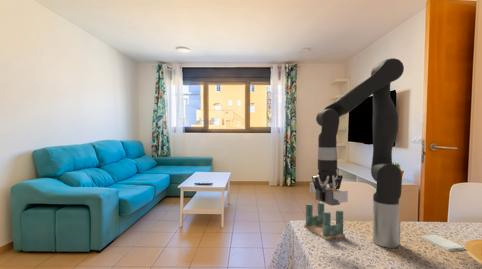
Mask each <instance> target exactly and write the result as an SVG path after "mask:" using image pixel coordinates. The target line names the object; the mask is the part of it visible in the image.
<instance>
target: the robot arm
mask: <svg viewBox="0 0 482 269" xmlns="http://www.w3.org/2000/svg"><path fill="white" fill-rule="evenodd" d="M404 68H405V67H404V64H403V62H402V61H401V60H400V59H397V58H387V59H385V60H382V61H380V62H378V63H376V64H375V65H374V66H373V67H372V68H371V72H370V76H369V77H368V78H366V79H365V80H364V81H362V82H360V83H359V84H357V85H355V86H354V87H352V88H350V89H349V90H348V91H346V92H345V93H343V94H342V95H341V96H340V97H338V98H336V100H335V101H334V102H332V103H330V104H328V105H327V106H326V107H324V108H323V109H321V110H320V111H319V112H318V113H317V114H316V117H315V120H316V123H317V124H318V126H320V127H321V131H320V133H319V135H318V140H317V141H318V145H317V146H318V148H317V169H318V173H317V175H313V176H311V179H312V183H313V184H314V187H315V190H318V191H319V198H320V200H321V201H323V202H322V203H324V201H325V189H326V187H330V188H334V189H336V190H340V189H341V185H342V181H343V175H342V174H338V173H337V170H338V149H337V146H338V145H337V144H338V143H337V142H338V141H337V135H338V133H339V132H338V131H339V127H340V117H342V116H344V115H346V114H349V113H350V112H351V111H353V110H354V109H355V108H356V107H358V106H359V105H361V104H362V103H363V102H364V101H365V100H366V99H368V98H369V97H371V96H372V145H373V146H372V149H373V150H372V159H371V166H370V167H371V169H370V175H371V177H372V178H373V180H374V181H375V182H376V191H375V192H374V193H373V196H372V202H373V203H372V204H373V205H372V208H373V209H372V213H373V214H372V215H373V216H372V242H373V243H374V244H376V245H377V246H379V247H384V248H389V249H396V248H398V247H399V246H400V245H401V221H400V198H401V196H402V186H403V175H402V171H401V169H400V168H399V167H398V166H397V165H395V164H393V157H392V155H393V147H394V145H395V141H396V138H397V136H398V131H399V114H398V111H397V110H398V109H396V106H395V103H394V102H393V100H392V97H391V84H392V82H395V81H396V80H399V79H400V78H401V77H402V76H403V74H404V70H405V69H404ZM321 201H320V202H321Z"/></svg>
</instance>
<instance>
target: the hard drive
mask: <svg viewBox="0 0 482 269" xmlns="http://www.w3.org/2000/svg"><path fill="white" fill-rule="evenodd" d="M420 239H421V240H424V241H425V242H428V243H430V244H432V245H433V246H436V247H439V248H440V249H443V250H445V251H447V252H454V251H465V250H464V247H465V246H463V245H460V244H458V243H457V242H454V241H452V240H449V239H447V238H445V237H442V236H440V235H438V234H426V235H425V234H424V235H420Z"/></svg>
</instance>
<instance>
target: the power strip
mask: <svg viewBox="0 0 482 269" xmlns="http://www.w3.org/2000/svg"><path fill="white" fill-rule="evenodd" d="M309 193H315V200H316V201H319V202H320V203H324V204H326V205H328V206H331V207H332V206H340V205H341V203H342V204H343V203H348V199H349V198H348V197H349V196H348V194H349V193H348V190H340V189H337V190H336V189H334V188H330V187H329V186H327V187H326V189H325V201H324V202H323V201H321V200H320V198H319V191H318V190H315V187H314V184H313V182H310V183H309Z"/></svg>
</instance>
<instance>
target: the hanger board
mask: <svg viewBox="0 0 482 269" xmlns="http://www.w3.org/2000/svg"><path fill="white" fill-rule="evenodd" d="M313 208H314V205H313V204H312V203H308V204H305V224H304V228H306V229H308V230H309V231H311V232H312V231H313V233H315V234H316V235H318V236H319V237H321V238H322V239H324V240H327V241H328V240H333V239H338V238H344V237H345V236H346V234H345V233H344V210H341V209H340V210H335V224H332V223H331V220H332V219H331V217H332V216H331V214H332V213H331V211H325V203H324V202H318V203H317V214H316V215H314V214H313V213H314V212H313Z"/></svg>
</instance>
